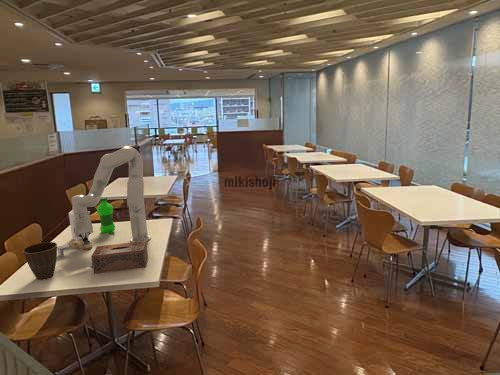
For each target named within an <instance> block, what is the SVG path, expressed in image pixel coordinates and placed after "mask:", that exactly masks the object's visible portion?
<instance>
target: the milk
mask: <svg viewBox="0 0 500 375" xmlns="http://www.w3.org/2000/svg"><path fill="white" fill-rule="evenodd" d="M71 207H72V209H71V210H70V211H69V212H68V218H69V225H70V231H71V232H70V233H71V238H72V240H73V241H74V240H77V241H82V238H81V237H75V233H74V229H73V219H74V218H75V217H74V211H73V206H71ZM84 237H85V233H84Z"/></svg>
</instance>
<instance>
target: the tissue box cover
mask: <svg viewBox="0 0 500 375" xmlns="http://www.w3.org/2000/svg"><path fill="white" fill-rule="evenodd" d="M147 245H148V244H147V241H140V242H123V243H115V244H106V245H104V244H103V245H98V246H96V247H95V249H94V251H93V252H92V254H91V256H90V257H91V264H92V265H91V266H92V271H93V275H97V274H104V273H113V272H120V271H121V272H122V271H128V270H136V269H137V270H138V269H144V268H145V269H146V268H147V263H148V259H149V255H148V246H147Z"/></svg>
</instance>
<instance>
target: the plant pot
mask: <svg viewBox="0 0 500 375" xmlns="http://www.w3.org/2000/svg"><path fill="white" fill-rule="evenodd" d="M57 247H58V244H57V243H56V242H55V241H47V242H45V241H43V242H39V243H35V244H32V245H29V246H27V247H25V248H23V250H22V252H23V255H24V257H25V261H26V263H27V266H28V267H29V269H30V271H31V272H32V273H33V275H34V277H35V278H36V279H37V280H39V281H45V280H48V278H49V279H51V278H53V276H54V275H55V271H56V266H57V260H58V259H57V258H58V249H57ZM44 279H45V280H44Z"/></svg>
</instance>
